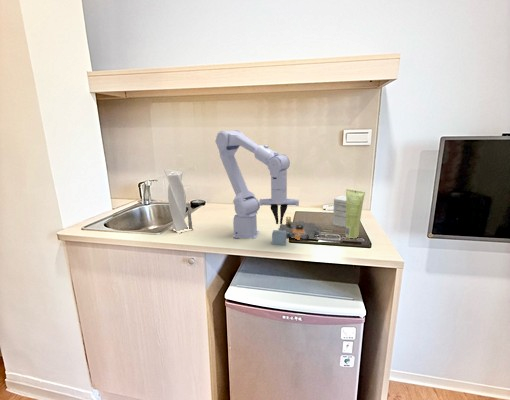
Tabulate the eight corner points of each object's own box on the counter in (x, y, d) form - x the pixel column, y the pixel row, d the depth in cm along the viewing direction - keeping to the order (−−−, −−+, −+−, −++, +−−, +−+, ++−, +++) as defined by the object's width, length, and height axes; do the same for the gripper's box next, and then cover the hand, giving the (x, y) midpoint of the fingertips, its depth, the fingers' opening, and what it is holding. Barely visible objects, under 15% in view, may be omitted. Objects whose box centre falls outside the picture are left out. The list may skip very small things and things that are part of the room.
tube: (357, 235, 114) (360, 188, 109) (361, 240, 109) (365, 191, 104) (343, 235, 114) (346, 189, 109) (347, 240, 109) (349, 191, 104)
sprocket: (305, 244, 105) (305, 231, 104) (269, 233, 117) (269, 221, 116) (328, 231, 118) (329, 219, 116) (294, 222, 130) (294, 211, 128)
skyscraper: (176, 234, 120) (169, 170, 113) (168, 230, 126) (160, 168, 119) (193, 229, 126) (187, 168, 119) (184, 225, 132) (179, 166, 124)
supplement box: (339, 221, 131) (340, 195, 128) (354, 224, 126) (356, 197, 123) (332, 225, 125) (333, 198, 122) (348, 229, 121) (350, 201, 118)
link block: (272, 245, 107) (272, 233, 105) (273, 241, 110) (273, 230, 109) (285, 246, 106) (285, 234, 104) (286, 242, 109) (286, 230, 108)
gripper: (298, 186, 105) (298, 220, 108) (260, 186, 107) (261, 219, 111) (298, 190, 98) (298, 226, 102) (258, 190, 100) (259, 225, 104)
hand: (279, 223), depth 106 cm, fingers closed
